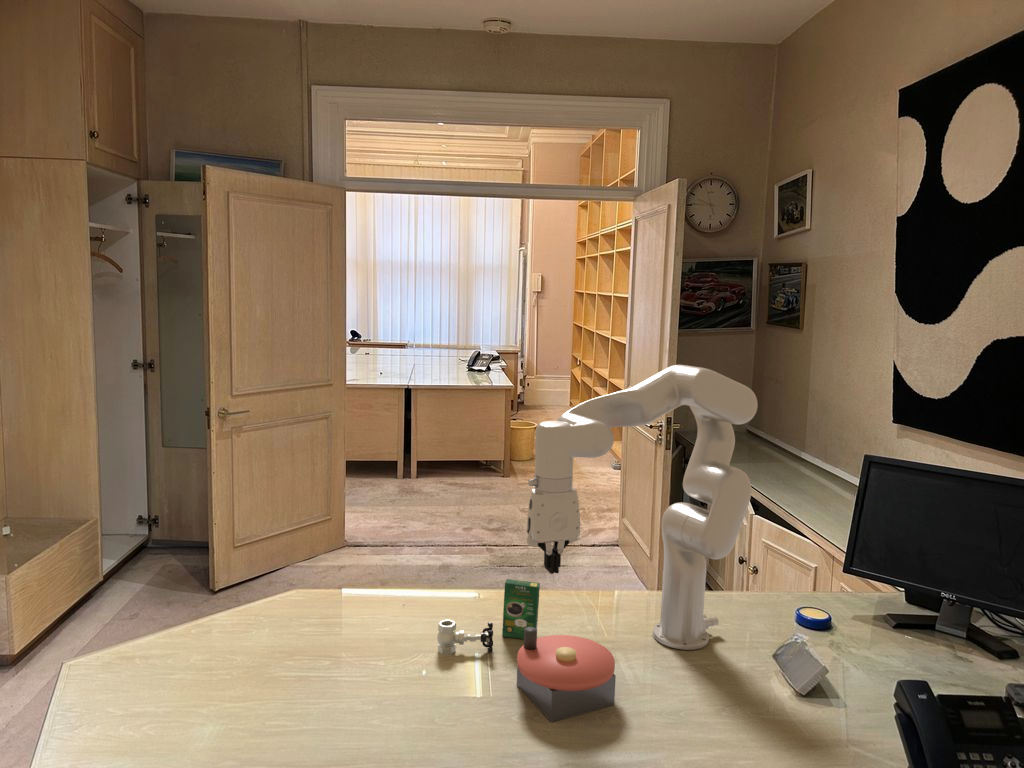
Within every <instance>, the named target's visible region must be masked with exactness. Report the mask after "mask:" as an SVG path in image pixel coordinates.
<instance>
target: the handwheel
mask: <svg viewBox="0 0 1024 768" xmlns="http://www.w3.org/2000/svg"><path fill="white" fill-rule="evenodd" d="M516 657H517V658H516V664H517V665H516V667H517V666H518V669H519V671H520V672H521V674H522V675H523V676H524V677H526V678H527V679H528V680H530V681H532V682H534V683H536V684H538V685H540V686H543V687H546V688H550V689H555V690H562V691H581V690H588V689H592V688H596V687H598V686H601V685H603V684H605V683H606V682H608V681H609V680H610V679H611V677H612V676H613V674H614V675H615V669H616V667H615V664H616V662H615V657H614V654H613V653H612V652H611V651H610V650H609V649H608V648H607V647H605V646H604V645H602V644H601V643H599V642H597V641H594V640H591V639H589V638H585V637H581V636H576V635H569V634H568V635H566V634H555V635H553V634H552V635H546V636H541V637H540V636H539V637H538V628H537V629H536V628H534V627H526V628H525V629H524V639H523V645H522V646H521V647H520V648H519V649H518V652H517V656H516Z"/></svg>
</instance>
